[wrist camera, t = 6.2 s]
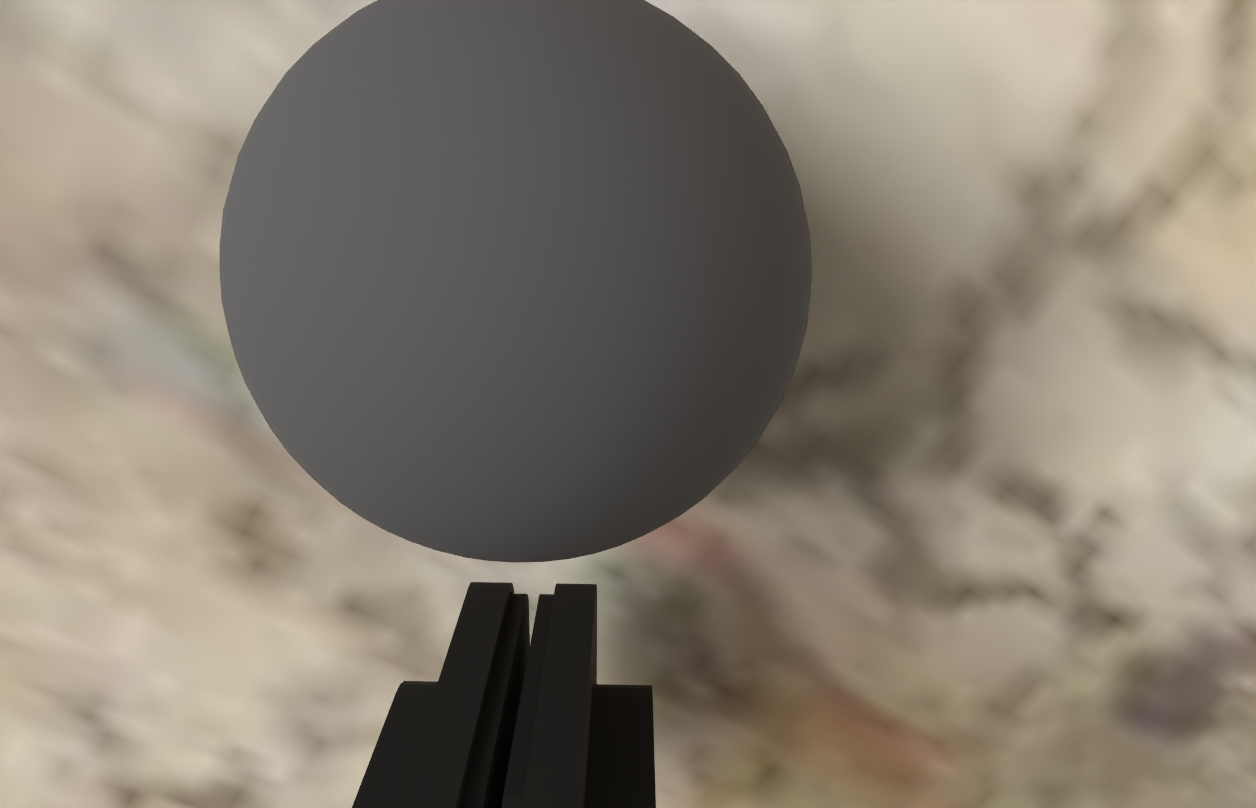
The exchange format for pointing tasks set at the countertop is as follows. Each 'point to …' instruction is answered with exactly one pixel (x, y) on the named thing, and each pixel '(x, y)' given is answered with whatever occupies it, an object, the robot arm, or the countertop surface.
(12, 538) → the countertop surface
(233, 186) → the dark gray ball
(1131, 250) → the countertop surface
